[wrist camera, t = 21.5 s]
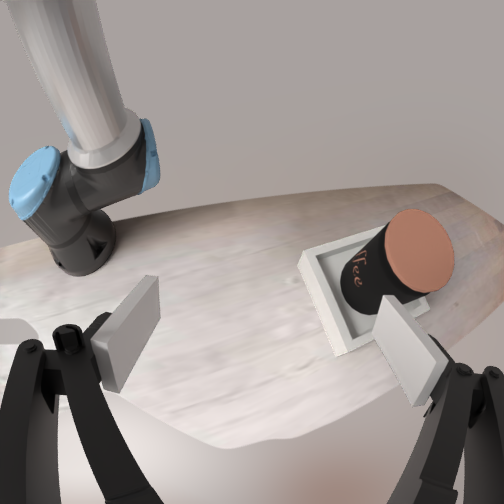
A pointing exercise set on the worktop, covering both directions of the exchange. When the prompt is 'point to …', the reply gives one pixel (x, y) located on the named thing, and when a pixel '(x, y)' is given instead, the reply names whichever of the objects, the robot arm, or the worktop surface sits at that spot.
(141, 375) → the worktop surface
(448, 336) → the worktop surface
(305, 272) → the white square tray
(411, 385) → the robot arm
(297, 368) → the worktop surface
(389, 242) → the coffee jar
